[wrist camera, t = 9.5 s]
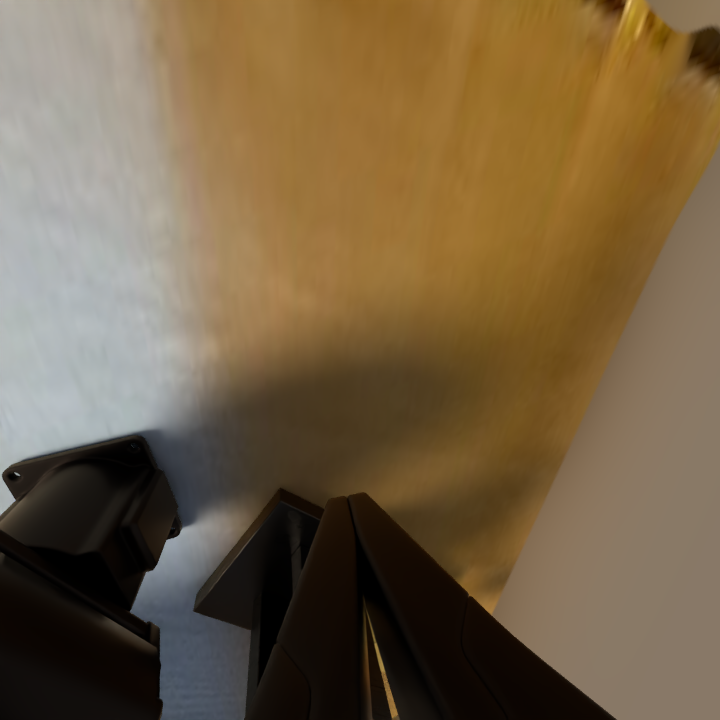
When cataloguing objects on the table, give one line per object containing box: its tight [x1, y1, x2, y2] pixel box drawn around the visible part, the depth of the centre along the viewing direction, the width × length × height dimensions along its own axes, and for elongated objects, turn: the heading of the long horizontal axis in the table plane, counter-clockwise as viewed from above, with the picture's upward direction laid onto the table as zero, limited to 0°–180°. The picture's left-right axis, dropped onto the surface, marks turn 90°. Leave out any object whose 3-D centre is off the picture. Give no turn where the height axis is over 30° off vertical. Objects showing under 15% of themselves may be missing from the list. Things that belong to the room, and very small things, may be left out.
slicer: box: [193, 488, 392, 720], centre depth 19 cm, size 10×9×12 cm
